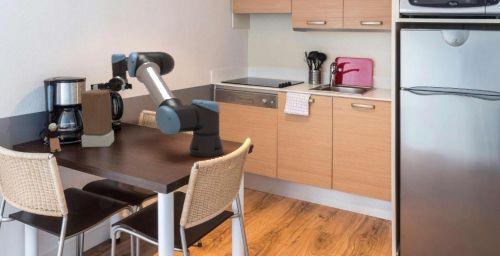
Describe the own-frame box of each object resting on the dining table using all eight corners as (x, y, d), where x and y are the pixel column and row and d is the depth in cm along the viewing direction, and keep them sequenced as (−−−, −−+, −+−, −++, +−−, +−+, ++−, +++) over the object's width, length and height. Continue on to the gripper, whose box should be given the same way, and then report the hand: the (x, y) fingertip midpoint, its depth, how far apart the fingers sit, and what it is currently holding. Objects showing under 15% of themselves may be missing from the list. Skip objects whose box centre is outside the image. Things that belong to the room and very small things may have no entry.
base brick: (108, 146, 207) (108, 136, 206) (82, 146, 206) (81, 136, 205) (114, 140, 219) (113, 130, 218) (88, 140, 218) (88, 130, 217)
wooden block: (103, 135, 206) (100, 92, 202) (83, 135, 207) (79, 92, 203) (112, 131, 216) (110, 90, 212) (93, 130, 217) (90, 89, 213)
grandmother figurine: (61, 149, 202) (59, 121, 200) (65, 150, 200) (62, 122, 197) (44, 152, 197) (41, 123, 194) (47, 153, 194) (44, 125, 192)
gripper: (140, 90, 240) (134, 95, 219) (92, 91, 238) (82, 96, 217) (140, 76, 239) (134, 80, 218) (91, 77, 236) (81, 81, 215)
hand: (108, 88), depth 217 cm, fingers open, 13 cm apart
